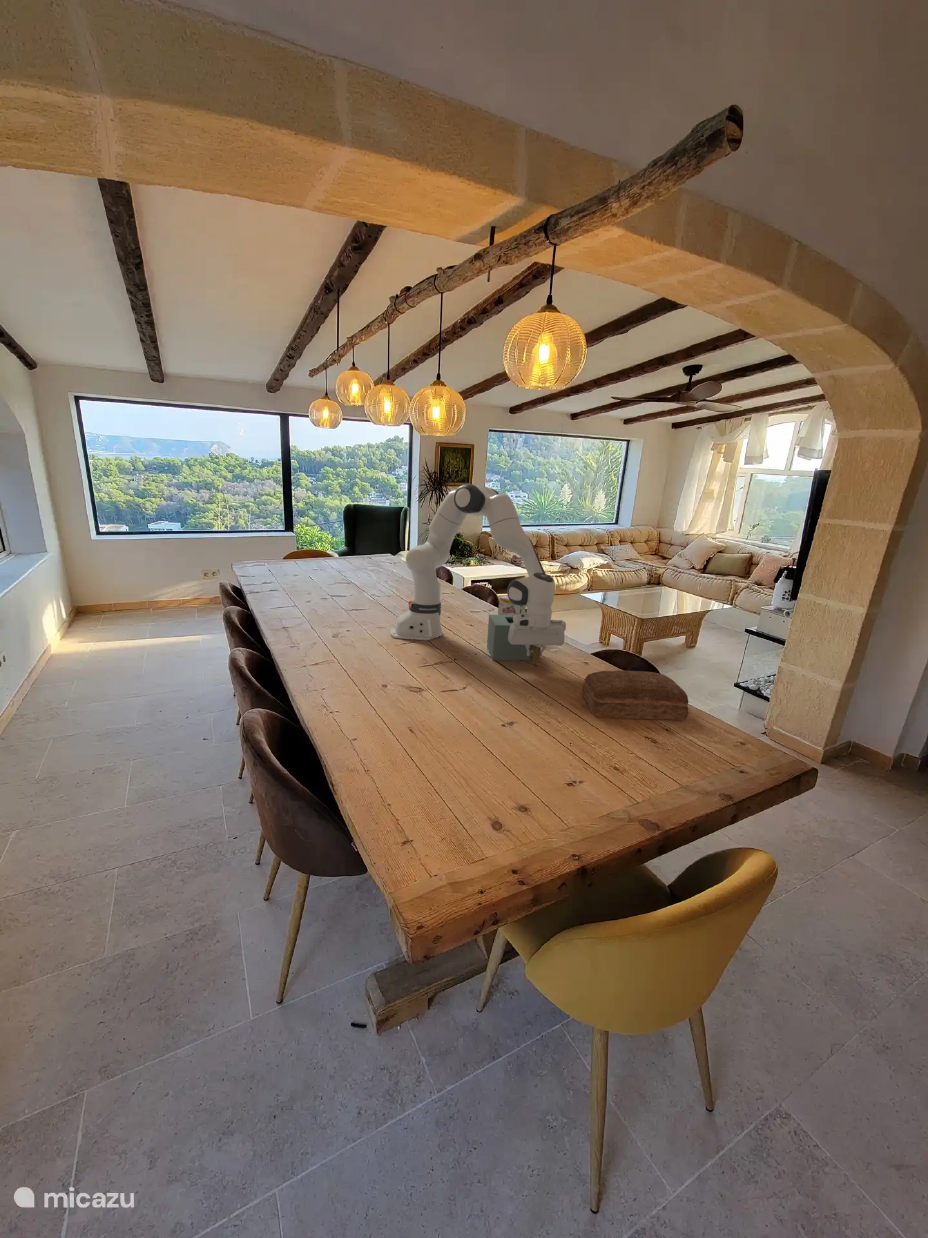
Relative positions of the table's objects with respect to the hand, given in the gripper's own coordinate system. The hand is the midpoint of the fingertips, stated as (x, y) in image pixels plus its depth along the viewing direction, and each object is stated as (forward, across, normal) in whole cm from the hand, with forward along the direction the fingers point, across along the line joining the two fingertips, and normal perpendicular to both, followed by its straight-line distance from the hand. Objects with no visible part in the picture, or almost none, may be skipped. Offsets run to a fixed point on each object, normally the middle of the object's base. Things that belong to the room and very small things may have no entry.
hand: (534, 655), depth 178 cm
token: (+2, 0, 0) cm, 2 cm away
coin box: (+6, +6, -16) cm, 18 cm away
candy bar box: (+6, +1, -40) cm, 40 cm away
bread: (+5, -24, +30) cm, 39 cm away
